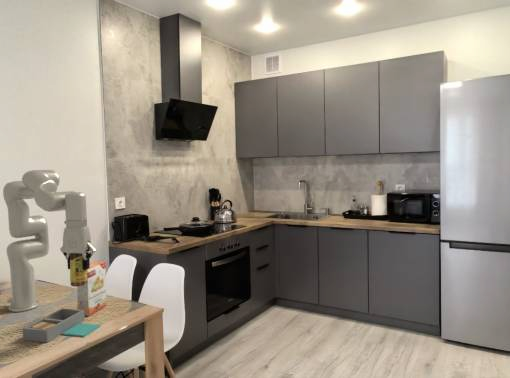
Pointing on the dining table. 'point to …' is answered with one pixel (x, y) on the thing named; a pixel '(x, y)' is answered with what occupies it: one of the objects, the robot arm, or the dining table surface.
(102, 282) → the cracker box
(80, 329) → the mat
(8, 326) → the dining table surface
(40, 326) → the offcut upper
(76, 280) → the sauce bottle
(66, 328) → the rack
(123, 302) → the dining table surface
